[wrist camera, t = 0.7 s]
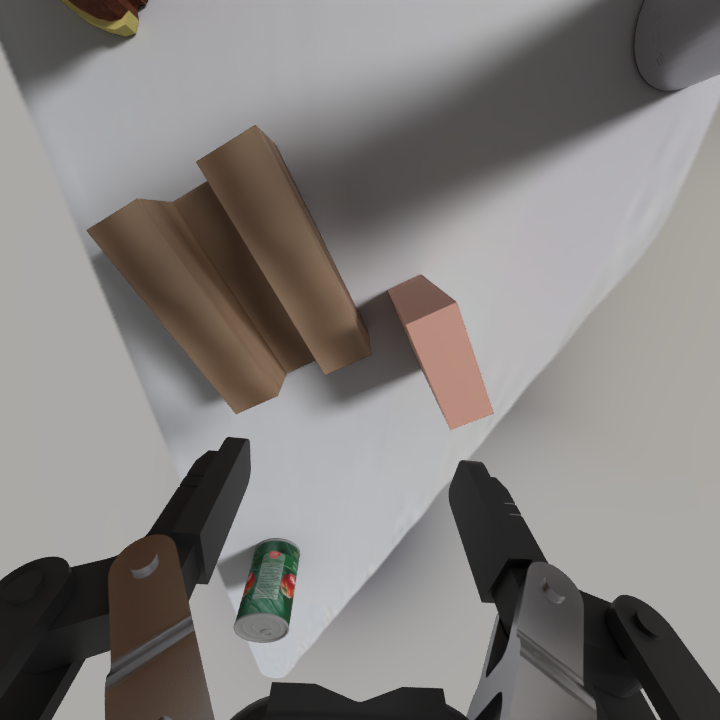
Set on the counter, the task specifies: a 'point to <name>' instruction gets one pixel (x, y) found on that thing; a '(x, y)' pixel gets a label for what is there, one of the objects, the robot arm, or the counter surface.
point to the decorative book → (109, 14)
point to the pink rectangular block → (442, 350)
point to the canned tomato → (269, 592)
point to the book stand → (239, 274)
